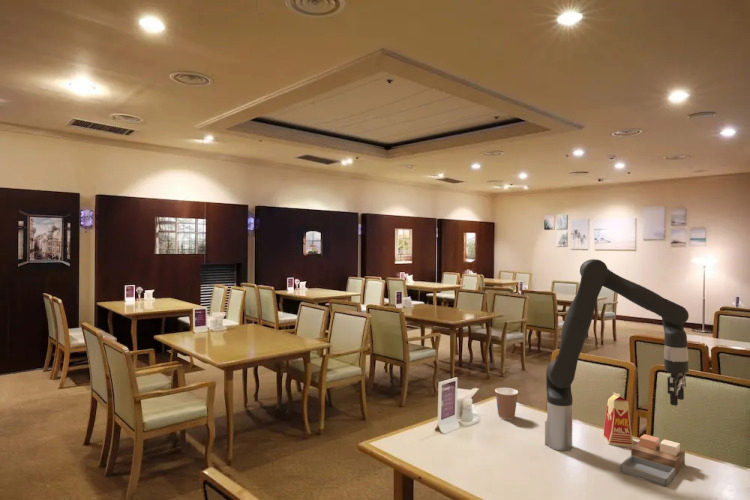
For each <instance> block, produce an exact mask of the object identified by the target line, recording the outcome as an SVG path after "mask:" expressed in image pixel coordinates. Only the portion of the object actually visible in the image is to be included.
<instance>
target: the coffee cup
mask: <svg viewBox="0 0 750 500" xmlns="http://www.w3.org/2000/svg"><path fill="white" fill-rule="evenodd" d="M494 391H495V396H496V397H495V398H496V406H497V407H496V408H497V414H498V417H499V418H500V419H503V420H513V419H515V416H516V408H517V402H518V395H519V391H518V390H517V389H515V388H511V387H497V388H495V389H494Z"/></svg>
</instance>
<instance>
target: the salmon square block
mask: <svg viewBox="0 0 750 500" xmlns="http://www.w3.org/2000/svg"><path fill="white" fill-rule="evenodd" d="M639 441H640V446H642V447H646V448H649V449H653V450H656V449H657V448H658V447H659V444H660V437H656V436H653V435H649V434H645V433H644V434H643V435H641V436H640V437H639Z"/></svg>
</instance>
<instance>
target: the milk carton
mask: <svg viewBox="0 0 750 500" xmlns="http://www.w3.org/2000/svg"><path fill="white" fill-rule="evenodd" d="M612 393H613V394H612V395H611V396H610V397H609V398H608V399H607V405H606V409H605V417H604V423H603V438H604V439H605V440H606V442H607V444H608V445H611V446H612V445H613V446H622V447H623V446H624V447H630V448H632V447H633V446H634V445H635V443H634V441H633V440H634V439H633V433H632V428H631V419H630V408H629V400H627V399H625V398H623V397H621V396H622V393H616V392H614V391H612Z"/></svg>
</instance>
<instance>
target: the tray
mask: <svg viewBox="0 0 750 500" xmlns="http://www.w3.org/2000/svg"><path fill="white" fill-rule="evenodd" d="M619 467H620V469H619V472H620V473H623V474H626V475H629V476H632V477H634V478H638V479H641V480H644V481H648V482H649V483H653V484H656V485H659V486H662V487H668V485H669V484H670V483H671V482H672V480H673V479H674V478H675V476H677V474H676V468H673V467H669V466H666V465H663V464H659V463H656V462H653V461H649V460H646V459H643V458H639V457H636V456H633V455H631V454H630V456H628V457H627V458H626V459H625V460H624V461H623V462H622V463H621V464H620V466H619Z"/></svg>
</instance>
